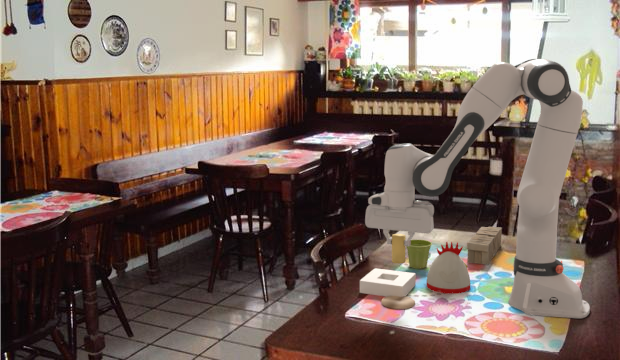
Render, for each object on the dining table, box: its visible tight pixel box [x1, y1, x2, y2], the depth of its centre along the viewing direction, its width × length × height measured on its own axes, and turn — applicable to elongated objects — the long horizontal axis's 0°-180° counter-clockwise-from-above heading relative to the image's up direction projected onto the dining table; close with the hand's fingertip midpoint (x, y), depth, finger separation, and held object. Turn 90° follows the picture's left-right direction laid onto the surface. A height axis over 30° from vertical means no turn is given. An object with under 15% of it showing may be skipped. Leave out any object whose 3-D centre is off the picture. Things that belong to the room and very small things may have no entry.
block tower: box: [466, 226, 503, 265], centre depth 245 cm, size 8×8×29 cm
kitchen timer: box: [426, 241, 471, 295], centre depth 209 cm, size 14×14×15 cm
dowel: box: [391, 233, 407, 265], centre depth 193 cm, size 4×4×8 cm
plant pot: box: [405, 239, 433, 270], centre depth 231 cm, size 9×9×9 cm
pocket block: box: [359, 267, 417, 297], centre depth 208 cm, size 14×14×4 cm
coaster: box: [381, 295, 416, 310], centre depth 196 cm, size 10×10×1 cm
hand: (398, 244), depth 193 cm, fingers closed on dowel, 4 cm apart
